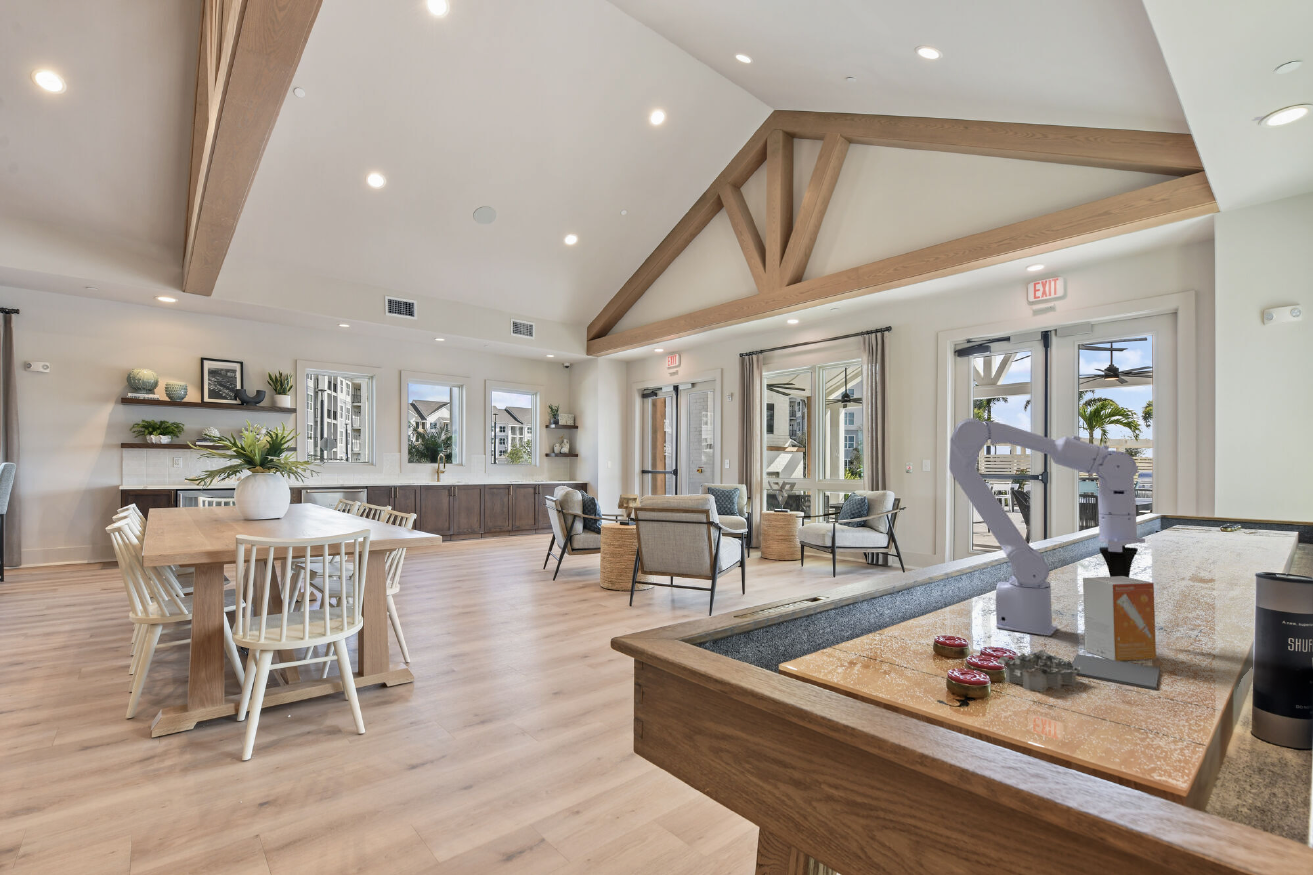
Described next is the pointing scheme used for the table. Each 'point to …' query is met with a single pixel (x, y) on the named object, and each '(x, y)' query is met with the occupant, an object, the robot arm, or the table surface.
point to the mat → (1117, 671)
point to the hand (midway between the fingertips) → (1120, 586)
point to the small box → (1119, 618)
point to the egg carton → (1039, 671)
